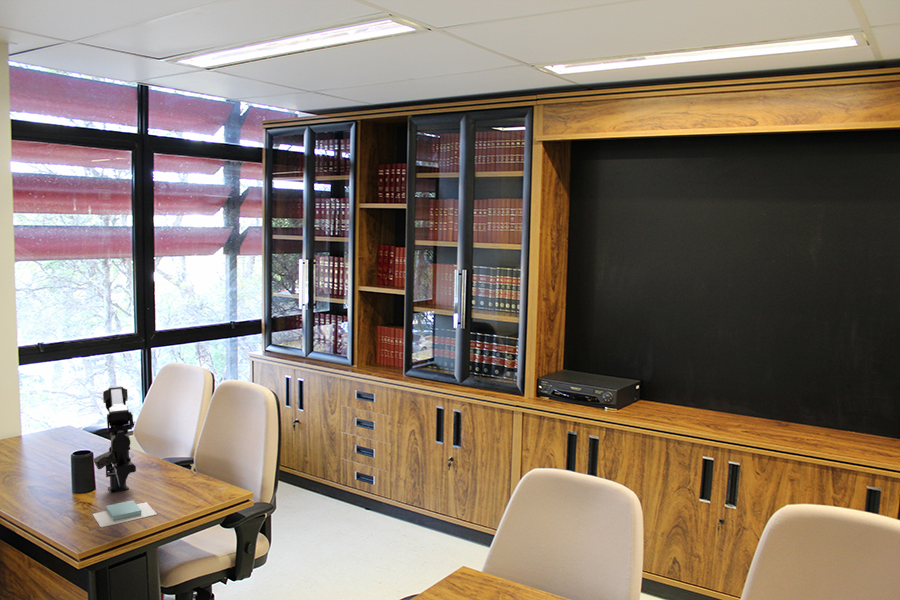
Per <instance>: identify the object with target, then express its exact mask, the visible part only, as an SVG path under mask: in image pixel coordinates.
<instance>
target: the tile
mask: <svg viewBox="0 0 900 600" xmlns="http://www.w3.org/2000/svg"><path fill="white" fill-rule="evenodd" d="M137 504H138V503H136V502H135V501H134V500H127V501H123V502H116V503H114V504H109V505H106V506H105V511H107V512H108V513H109V515H110V516H111V518H112V519H113V520H119V519H123V518H127V517H132V516H136V515H141V509H140V508H139V507H138V506H137Z"/></svg>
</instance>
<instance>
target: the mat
mask: <svg viewBox="0 0 900 600" xmlns="http://www.w3.org/2000/svg"><path fill="white" fill-rule="evenodd" d="M136 504H137V506H138V507H139V508H140V509H141V515H136V516H132V517H127V518H123V519H119V520H113V519H112V518H111V516H110V515H109V513H108V512H107V510H104V511H99V512H96V513H92V516H93V518H94V519H95V521H96V523H97V524H98V526H99V528H106V527H110V526H114V525H118V524H123V523H127V522H132V521H136V520H140V519H144V518H149V517H154V516H157V515H158V514H157V512H156V511H155V510H154V509H153V508H152V507H151V505H149V503H148V502H147V501H145V502H142V503H136Z"/></svg>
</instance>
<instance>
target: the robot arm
mask: <svg viewBox="0 0 900 600" xmlns="http://www.w3.org/2000/svg"><path fill="white" fill-rule="evenodd" d="M102 392H103V393H102V399H103V400H102V402H103V404H105V408H106V410H107V411H108V413H106V424H107V432H108V433H110V446H109V448H108V451H107V452H104V453H102V454H100V455H98V456H96V457H94V458H93V459H92V461H93V463H94V465H95V467H96V468H97V470H101V469H103V468H104V467H105V478H108V477H109V486H108V487H107V489H108V491H109V493H111V494H114V493H119V492H122V491H123V492H124V491H128V490H130V488H129V486H128V485H127V479H128V476H129V475H131V473H135V472H137V466H136V464H135V463H133V462H132V461H131V460H132V459H131V457H130V450H131V439H130V435H129V431H130V430H133V427H134V414H133V413H132V411H129V407H128V406H127V404H126V402H127V401H128V398H129V397H128V389H126V388H124V386H122V385H119V386H117V385H116V386H110V387H108V388H107V389H106V390H104V391H102Z"/></svg>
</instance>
